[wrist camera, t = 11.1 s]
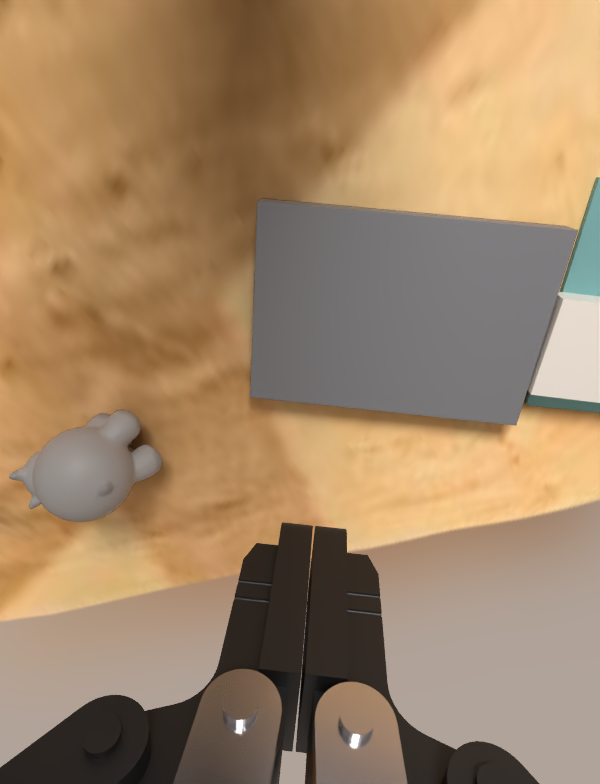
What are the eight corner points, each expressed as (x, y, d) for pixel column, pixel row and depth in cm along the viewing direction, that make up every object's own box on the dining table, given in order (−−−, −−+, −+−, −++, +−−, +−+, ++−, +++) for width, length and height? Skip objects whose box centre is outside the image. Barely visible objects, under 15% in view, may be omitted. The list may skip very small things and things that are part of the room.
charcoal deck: (262, 198, 33) (257, 201, 31) (564, 225, 32) (578, 230, 31) (254, 385, 39) (250, 397, 38) (508, 412, 39) (516, 425, 37)
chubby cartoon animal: (51, 407, 45) (-38, 463, 39) (139, 398, 39) (50, 463, 32) (89, 471, 48) (12, 533, 41) (177, 472, 41) (102, 546, 35)
